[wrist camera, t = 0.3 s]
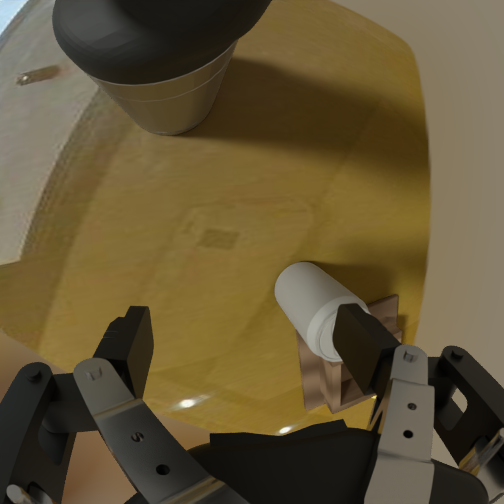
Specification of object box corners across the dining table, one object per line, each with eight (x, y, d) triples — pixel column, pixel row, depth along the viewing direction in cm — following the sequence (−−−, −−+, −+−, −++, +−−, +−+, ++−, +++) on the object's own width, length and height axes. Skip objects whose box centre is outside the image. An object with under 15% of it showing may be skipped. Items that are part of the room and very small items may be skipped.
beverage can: (324, 258, 34) (383, 297, 23) (319, 306, 36) (369, 358, 24) (273, 261, 33) (317, 306, 21) (271, 311, 34) (308, 371, 23)
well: (295, 329, 36) (311, 351, 31) (394, 294, 38) (417, 308, 33) (304, 407, 40) (316, 429, 35) (387, 372, 43) (404, 389, 38)
